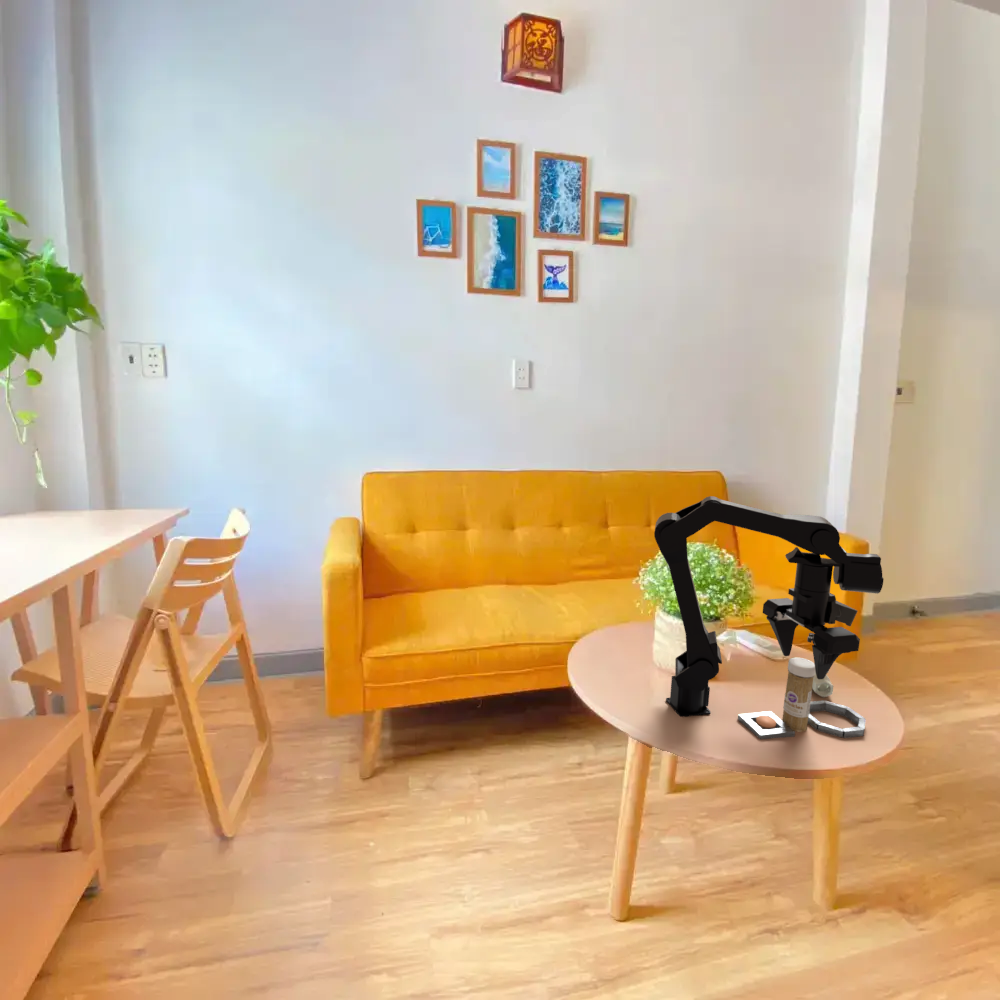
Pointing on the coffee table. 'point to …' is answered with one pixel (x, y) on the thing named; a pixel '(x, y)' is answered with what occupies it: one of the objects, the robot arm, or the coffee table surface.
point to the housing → (777, 732)
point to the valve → (821, 685)
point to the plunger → (765, 722)
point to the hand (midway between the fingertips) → (802, 666)
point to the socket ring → (840, 711)
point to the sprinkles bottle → (798, 693)
